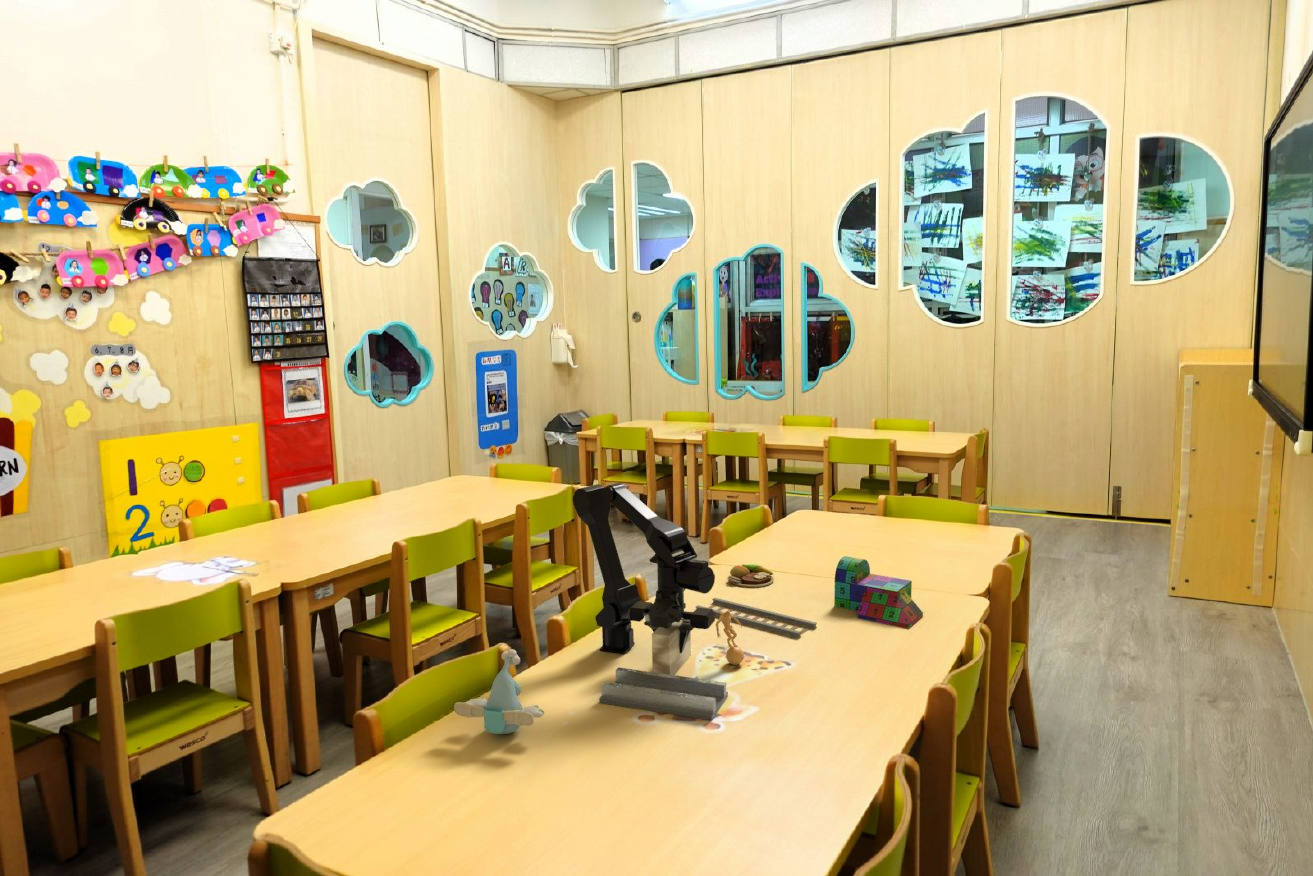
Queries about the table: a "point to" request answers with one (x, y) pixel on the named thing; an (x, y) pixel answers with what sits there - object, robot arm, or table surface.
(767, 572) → the toy food set
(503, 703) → the toy figure
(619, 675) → the floor track
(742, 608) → the model train track
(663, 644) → the door panel
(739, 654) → the figurine
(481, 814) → the table surface
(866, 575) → the toy train engine
